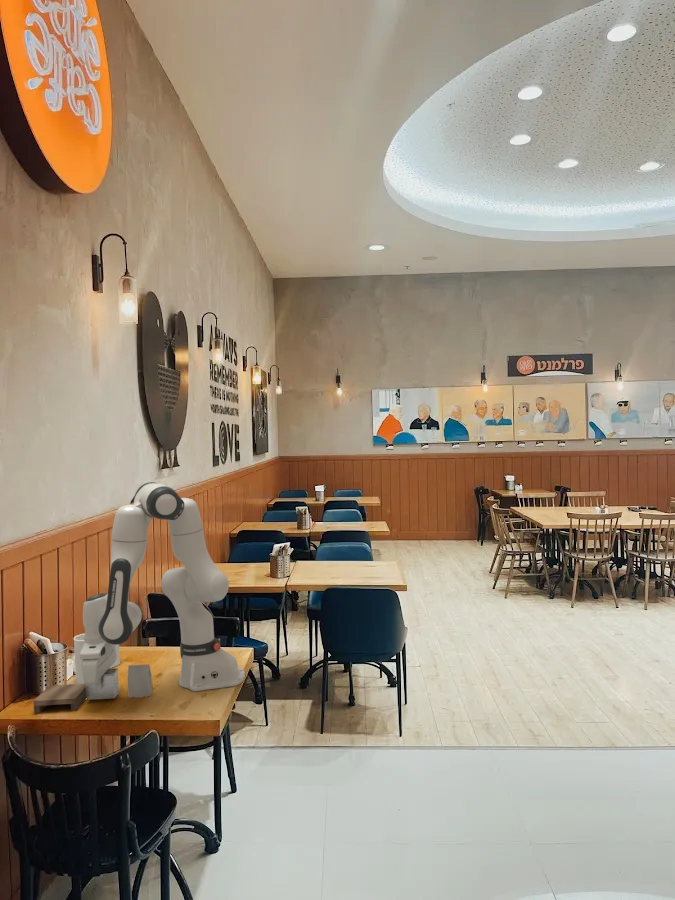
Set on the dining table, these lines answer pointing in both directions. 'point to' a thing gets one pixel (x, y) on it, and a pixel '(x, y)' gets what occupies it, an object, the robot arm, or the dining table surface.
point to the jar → (116, 657)
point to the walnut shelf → (61, 696)
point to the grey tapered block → (139, 681)
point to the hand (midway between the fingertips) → (102, 685)
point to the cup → (78, 658)
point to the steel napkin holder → (105, 686)
